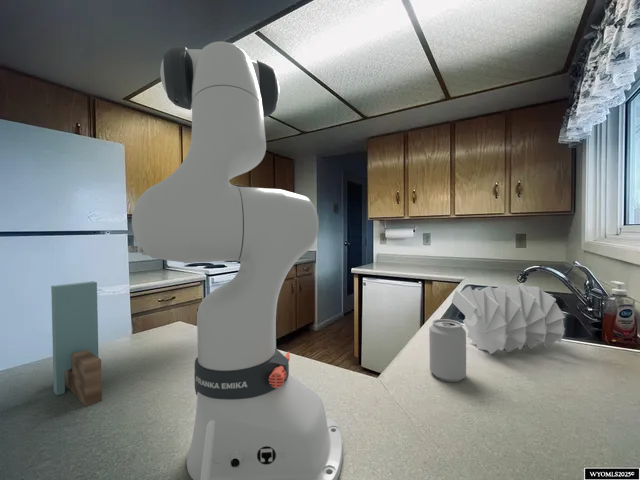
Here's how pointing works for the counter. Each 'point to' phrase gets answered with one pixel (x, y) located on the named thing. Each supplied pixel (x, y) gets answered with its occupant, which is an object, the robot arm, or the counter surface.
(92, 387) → the notched walnut block
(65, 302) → the teal plate
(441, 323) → the can
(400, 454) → the counter surface
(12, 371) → the counter surface
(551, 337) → the spiral staircase
